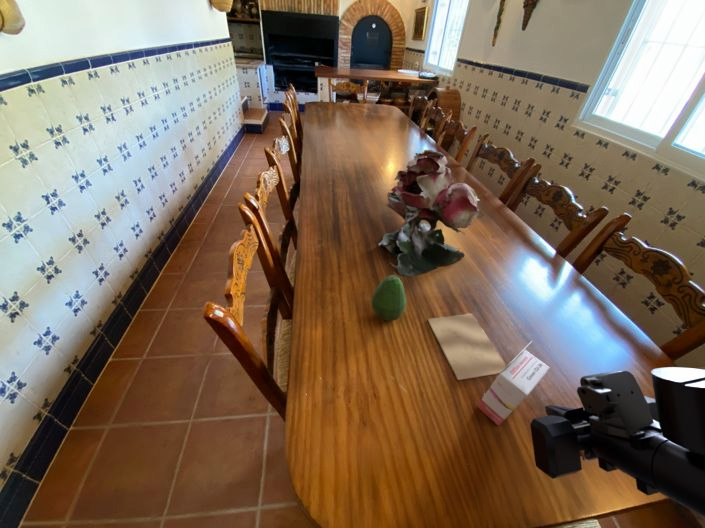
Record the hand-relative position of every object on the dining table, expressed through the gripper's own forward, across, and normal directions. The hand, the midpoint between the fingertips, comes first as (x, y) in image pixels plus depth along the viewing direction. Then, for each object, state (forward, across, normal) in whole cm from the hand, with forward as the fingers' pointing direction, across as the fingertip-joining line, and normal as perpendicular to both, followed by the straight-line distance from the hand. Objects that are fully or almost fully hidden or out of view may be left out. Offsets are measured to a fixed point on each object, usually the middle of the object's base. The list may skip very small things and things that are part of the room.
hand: (547, 408), depth 46 cm
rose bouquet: (+49, -3, -33) cm, 59 cm away
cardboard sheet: (+21, 0, -6) cm, 22 cm away
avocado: (+29, +16, -14) cm, 36 cm away
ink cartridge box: (+12, 0, +4) cm, 12 cm away
